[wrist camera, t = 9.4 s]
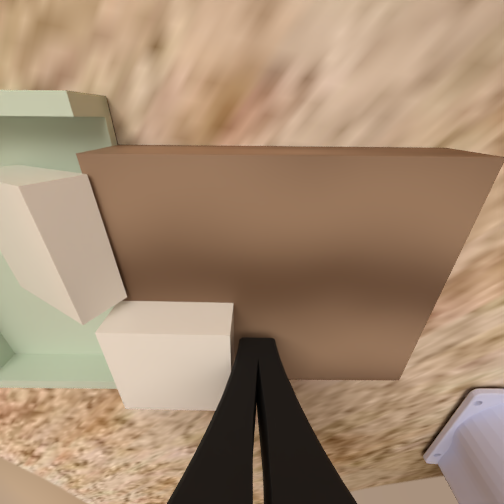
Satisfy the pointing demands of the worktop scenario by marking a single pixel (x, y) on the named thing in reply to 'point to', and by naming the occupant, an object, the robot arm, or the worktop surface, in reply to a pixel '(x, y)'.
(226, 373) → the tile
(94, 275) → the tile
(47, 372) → the tray
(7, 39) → the worktop surface
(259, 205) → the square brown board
